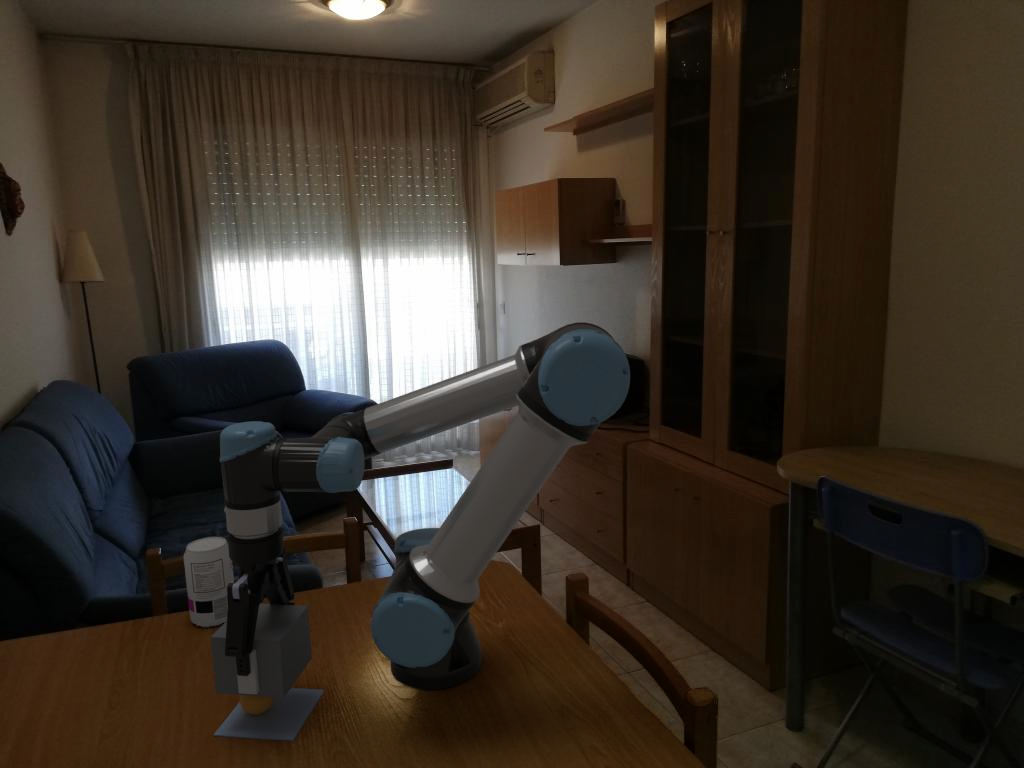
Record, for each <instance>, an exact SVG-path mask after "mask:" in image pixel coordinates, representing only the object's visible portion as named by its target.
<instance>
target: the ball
mask: <svg viewBox="0 0 1024 768" xmlns="http://www.w3.org/2000/svg"><path fill="white" fill-rule="evenodd" d="M274 698H275V697H264V696H248V695H239V702H240V705H241V707H242V709H243V710H244V711H245V712H246V713H248V714H251V715H259V714H262V713H264V712H266V711H267V710H268V709H269V708H270V707H271V705H272V704H273V701H274Z"/></svg>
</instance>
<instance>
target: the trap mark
mask: <svg viewBox="0 0 1024 768" xmlns="http://www.w3.org/2000/svg"><path fill="white" fill-rule="evenodd" d="M325 690H326V689H318V688H317V689H316V688H314V689H312V688H297V687H291V689H290V690H289V691H288V693H287V694H286V696H285V697H284V698H279V697H275V698H274V701H273V704H272V705H271V707H270V708H269V709H268V710H267V711H266V712H264V713H262V714H259V715H251V714H248V713H246V712H245V711H244V710H243V709H242V707H241V705H240V701H239V702H238V704H237V705H236V706H235V707H234V708H233V710H232V711H231V712H230V713H229V715H228V716H227V717H226V719H225V720H224V721H223V722H222V724H221V725H220V726H219V727H218V728H217V730H216V731H215V732H214V733H213V737H223V738H224V737H225V738H239V739H240V738H241V739H256V740H257V739H258V740H270V741H271V740H272V741H273V740H274V741H286V742H287V741H288V742H294V741H295V739H296V737H297V736H298V735H299V733H300V731H301V730H302V728H303V727H304V725H305V724H306V721H307V719H308V718H309V717H310V715H311V714H312V712H313V710H314V709H315V707H316V705H317V704H318V702H319V701H320V699H321V697H322V696H323V694H324V693H325Z"/></svg>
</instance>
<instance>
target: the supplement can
mask: <svg viewBox="0 0 1024 768" xmlns="http://www.w3.org/2000/svg"><path fill="white" fill-rule="evenodd" d="M226 539H227V538H224V537H222V536H221V537H220V536H207V537H203V538H199V539H195V540H193V541H191V542H188V544H186V547H185V551H184V554H183V563H184V565H183V566H184V574H185V584H186V593H187V601H188V608H189V609H188V610H189V620H190V622H191V623H192V624H194V625H195V624H196V626H197V627H199V626H201V627H200V628H213V627H212V626H214V627H218V626H221V625H223V624H222V623H225V622H226V621H227V612H228V594H227V586H228V584H229V583H235V578H234V567H233V561H232V560H231V559H230V557H229V549H228V540H226ZM220 624H221V625H220ZM217 625H218V626H217ZM210 626H211V627H210Z"/></svg>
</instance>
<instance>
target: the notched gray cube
mask: <svg viewBox="0 0 1024 768" xmlns="http://www.w3.org/2000/svg"><path fill="white" fill-rule="evenodd" d="M226 627H227V621H226V622H225V623H224V624H221V625H220V627H219V628H218V629H217V630H216V631H215V632H214V633H213V634H212V635H211V636H210V644H211V654H212V663H213V674H214V685H215V694H216V695H217V694H219V695H235V696H237V695H239V696H240V695H248V696H264V697H279V698H284V697H285V696H286V694H287V693H288V691H289V690H290V689H291V688H293V686H294V684H295V683H296V682H297V680H298V679H299V677H300V676H301V675H302V673H303V672H304V670H305V669H306V667H307V666H308V664H310V662H311V660H312V658H313V657H312V642H311V628H310V627H311V626H310V612H309V606H308V605H299V604H298V605H297V604H295V605H279V604H270V603H260V605H259V610H258V617H257V623H256V629H255V635H254V641H253V647H252V649H256V658H257V670H258V682H259V692H258V694H242V693H239V691H238V679H237V668H236V657H231V656H225V642H226Z"/></svg>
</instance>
